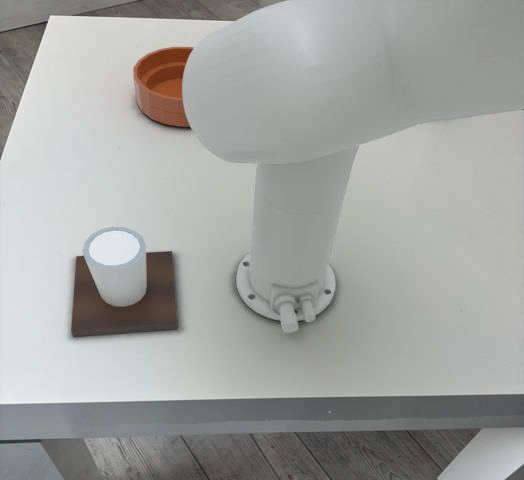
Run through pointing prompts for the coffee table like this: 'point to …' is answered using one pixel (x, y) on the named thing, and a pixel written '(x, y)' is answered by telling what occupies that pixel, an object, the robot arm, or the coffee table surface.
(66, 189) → the coffee table surface
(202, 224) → the coffee table surface
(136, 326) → the pad
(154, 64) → the bowl
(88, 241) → the white cup
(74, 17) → the coffee table surface
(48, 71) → the coffee table surface
